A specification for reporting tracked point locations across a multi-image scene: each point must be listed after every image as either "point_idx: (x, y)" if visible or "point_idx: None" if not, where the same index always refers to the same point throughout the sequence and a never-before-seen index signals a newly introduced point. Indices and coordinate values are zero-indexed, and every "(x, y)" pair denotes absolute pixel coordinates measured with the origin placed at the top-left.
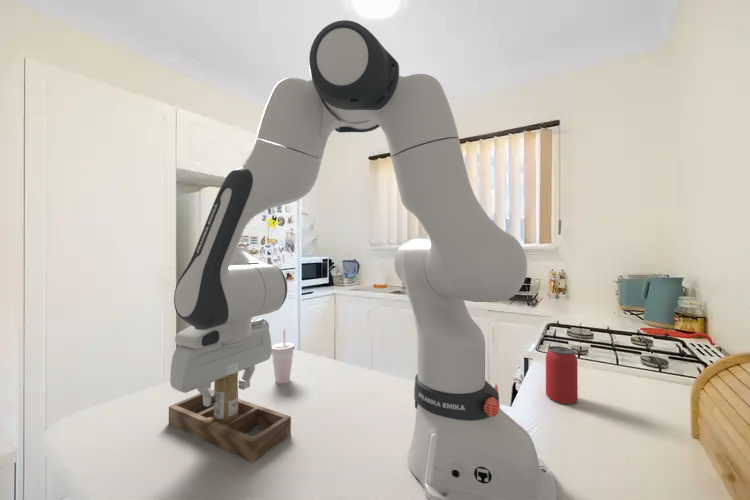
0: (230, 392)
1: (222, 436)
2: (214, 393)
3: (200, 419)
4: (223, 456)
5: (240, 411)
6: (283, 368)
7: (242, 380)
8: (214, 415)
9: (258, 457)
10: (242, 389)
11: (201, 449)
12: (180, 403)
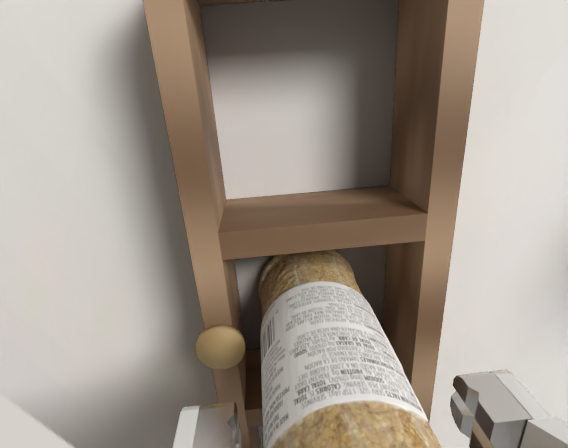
0: None
1: None
2: (265, 437)
3: (201, 301)
4: (211, 399)
5: (399, 282)
6: None
7: (499, 444)
8: (262, 326)
9: None
10: (452, 398)
11: (182, 322)
12: None
